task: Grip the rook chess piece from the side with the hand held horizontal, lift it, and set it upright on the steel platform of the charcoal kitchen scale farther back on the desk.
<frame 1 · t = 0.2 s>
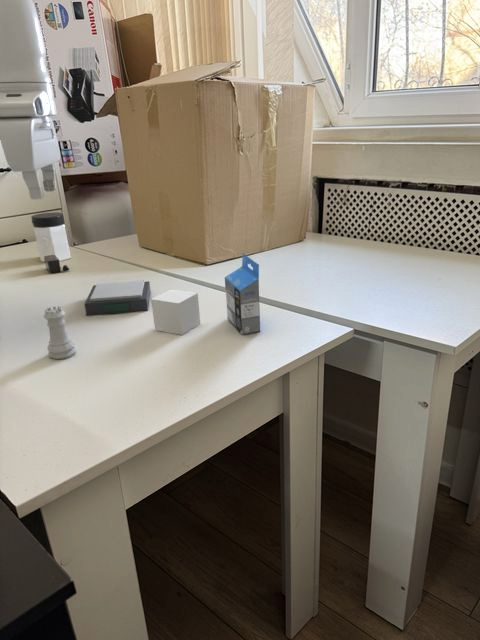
hand: (44, 194, 86), 24 cm above the table, tool pointing down, fingers open, 8 cm apart
jar: (56, 259, 143), on the table
wireless earbuds: (57, 271, 131), on the table
ink cartridge box: (243, 326, 94), on the table
rook chess piece: (63, 355, 84), on the table
scale: (120, 303, 107), on the table
white cube: (178, 327, 94), on the table
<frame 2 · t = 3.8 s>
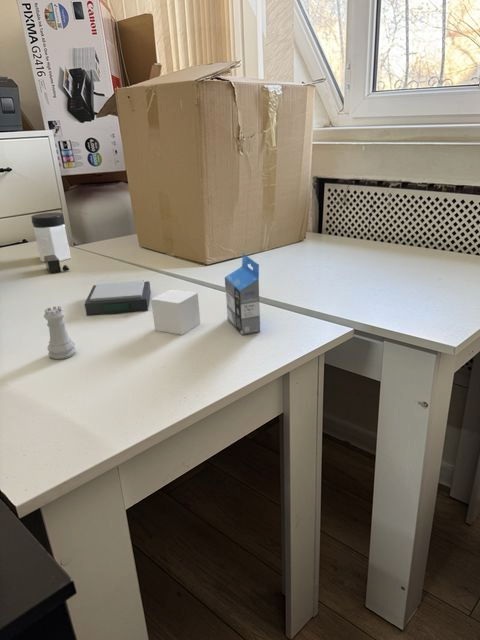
nothing on the table moved.
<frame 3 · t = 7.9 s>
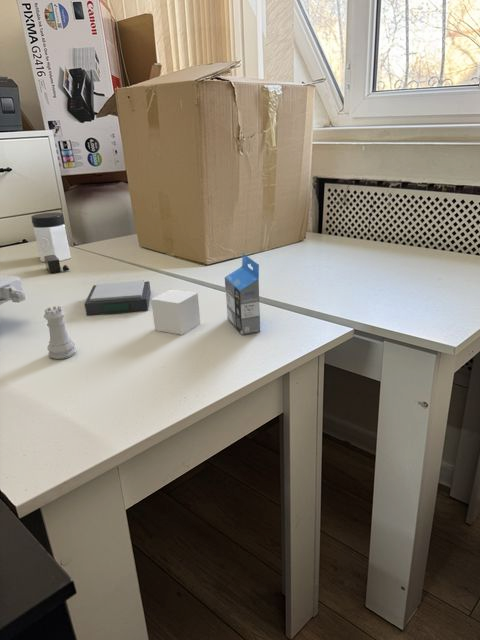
hand: (0, 305, 86), 7 cm above the table, tool horizontal, fingers open, 8 cm apart
nothing on the table moved.
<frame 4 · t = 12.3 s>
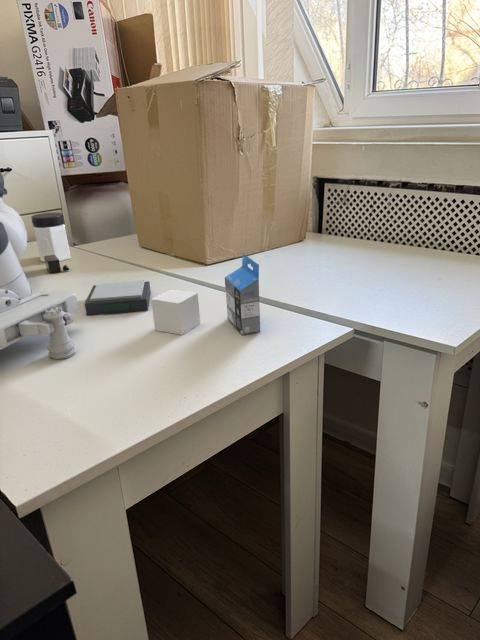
hand: (60, 324, 82), 5 cm above the table, tool horizontal, fingers closed on rook chess piece, 3 cm apart
rook chess piece: (63, 355, 84), on the table, touching gripper
everything else where it was.
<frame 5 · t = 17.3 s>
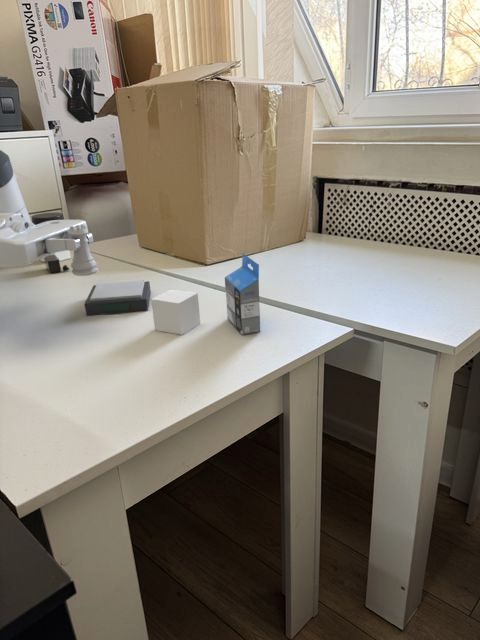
hand: (84, 241, 86), 17 cm above the table, tool horizontal, fingers closed on rook chess piece, 3 cm apart
rook chess piece: (85, 273, 88), point 11 cm above the table, touching gripper
everything else where it was.
when the fingers open (9 cm above the table, at t = 22.8 s): rook chess piece stays where it is, resting on scale.
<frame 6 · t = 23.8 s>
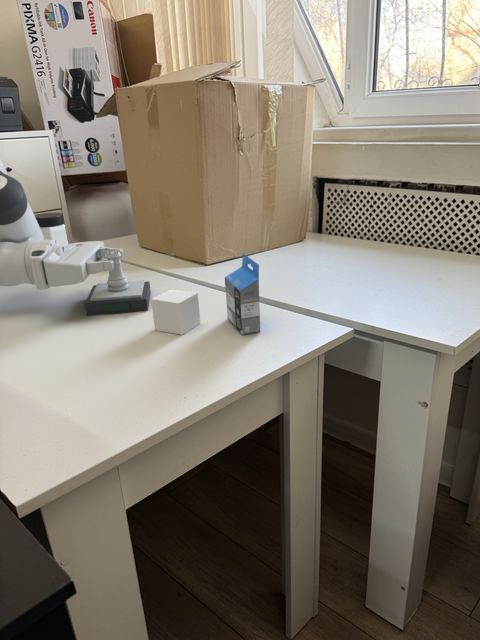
hand: (118, 258, 103), 9 cm above the table, tool horizontal, fingers open, 8 cm apart
rook chess piece: (118, 289, 106), point 3 cm above the table, touching scale
everything else where it was.
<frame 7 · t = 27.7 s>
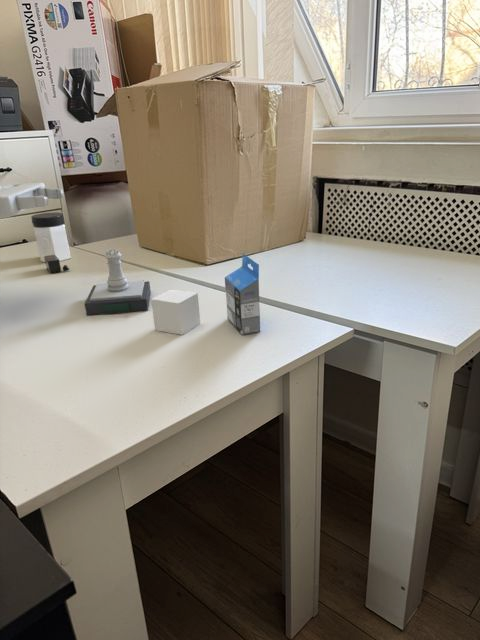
hand: (54, 197, 97), 22 cm above the table, tool horizontal, fingers open, 8 cm apart
nothing on the table moved.
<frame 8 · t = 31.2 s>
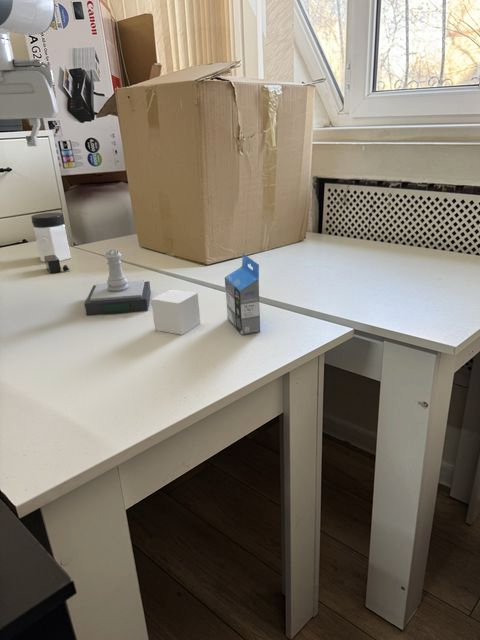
hand: (6, 147, 92), 31 cm above the table, tool pointing down, fingers open, 8 cm apart
nothing on the table moved.
at the end: rook chess piece inside the target area on the scale (0.1 cm from its centre), point 2.9 cm above the scale's base; rook chess piece tilted 0°; the gripper is holding nothing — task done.
